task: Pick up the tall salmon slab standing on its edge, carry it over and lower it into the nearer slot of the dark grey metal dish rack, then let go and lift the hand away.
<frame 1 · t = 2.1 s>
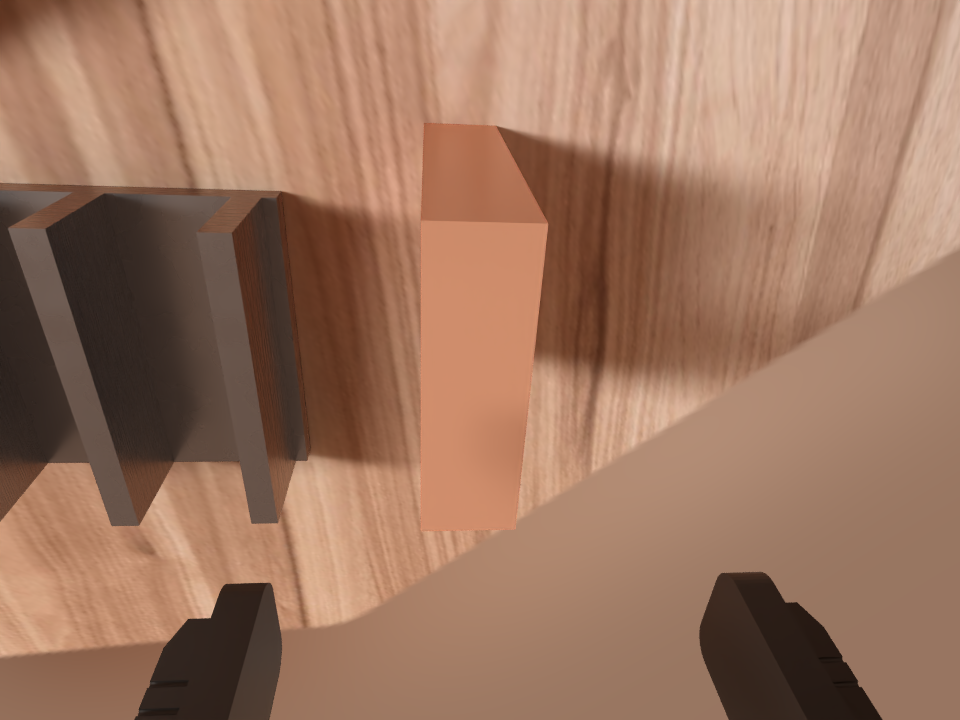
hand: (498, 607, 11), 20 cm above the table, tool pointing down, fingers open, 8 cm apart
tall salmon slab: (456, 239, 28), on the table
dish rack: (138, 333, 29), on the table
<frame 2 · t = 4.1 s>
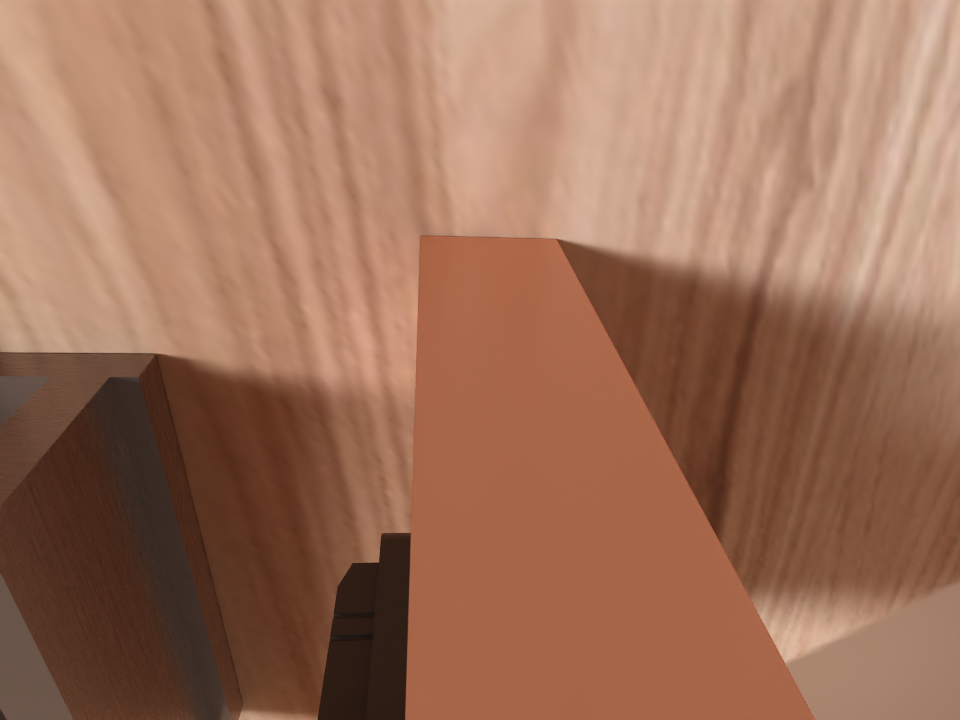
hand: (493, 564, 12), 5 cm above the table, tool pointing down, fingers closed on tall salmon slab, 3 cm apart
tall salmon slab: (477, 422, 16), on the table, touching gripper
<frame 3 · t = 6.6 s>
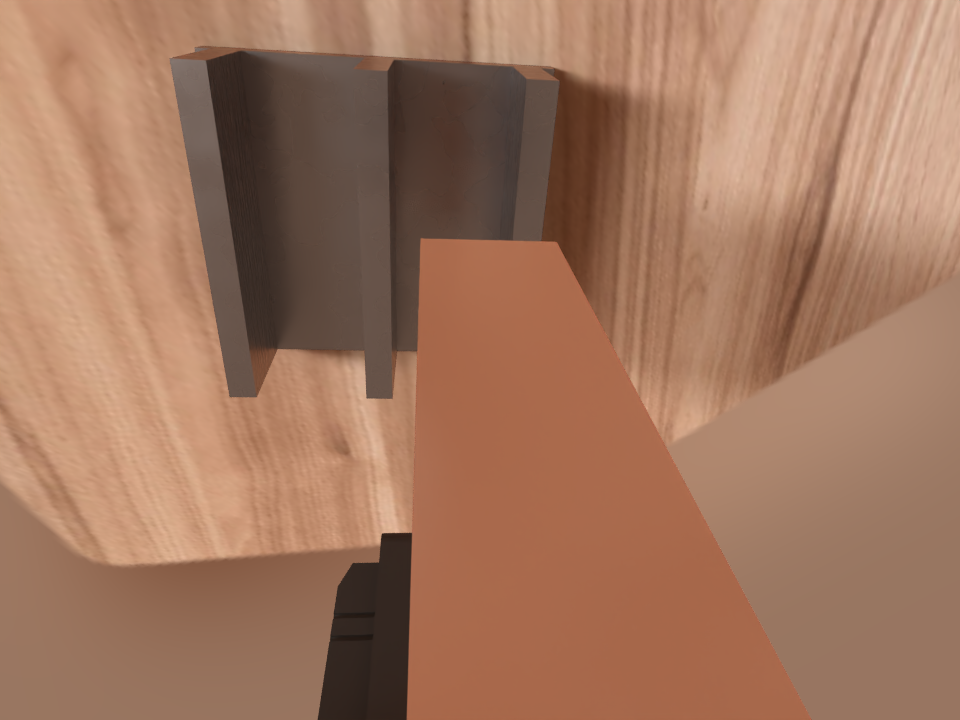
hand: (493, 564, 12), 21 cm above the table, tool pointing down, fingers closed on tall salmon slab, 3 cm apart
tall salmon slab: (478, 424, 16), point 17 cm above the table, touching gripper
dish rack: (384, 216, 30), on the table
when the fingers open (7 cm above the table, at t = 9.0 s): tall salmon slab drops 1 cm, resting on dish rack.
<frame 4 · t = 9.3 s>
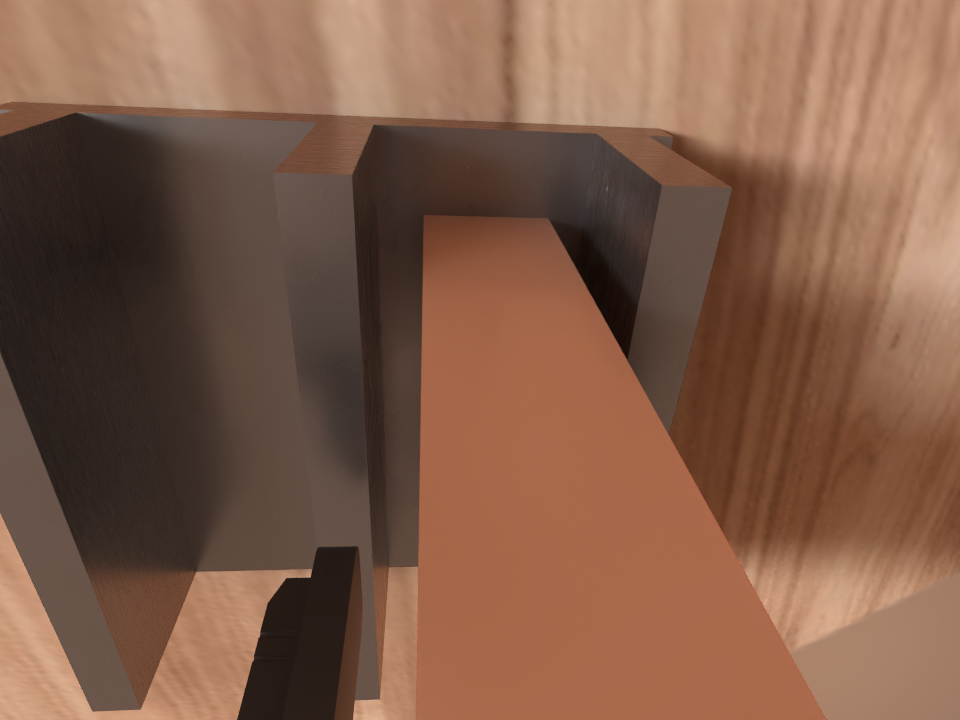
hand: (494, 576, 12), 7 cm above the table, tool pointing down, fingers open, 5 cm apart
tall salmon slab: (476, 391, 17), point 1 cm above the table, touching dish rack
dish rack: (364, 372, 18), on the table
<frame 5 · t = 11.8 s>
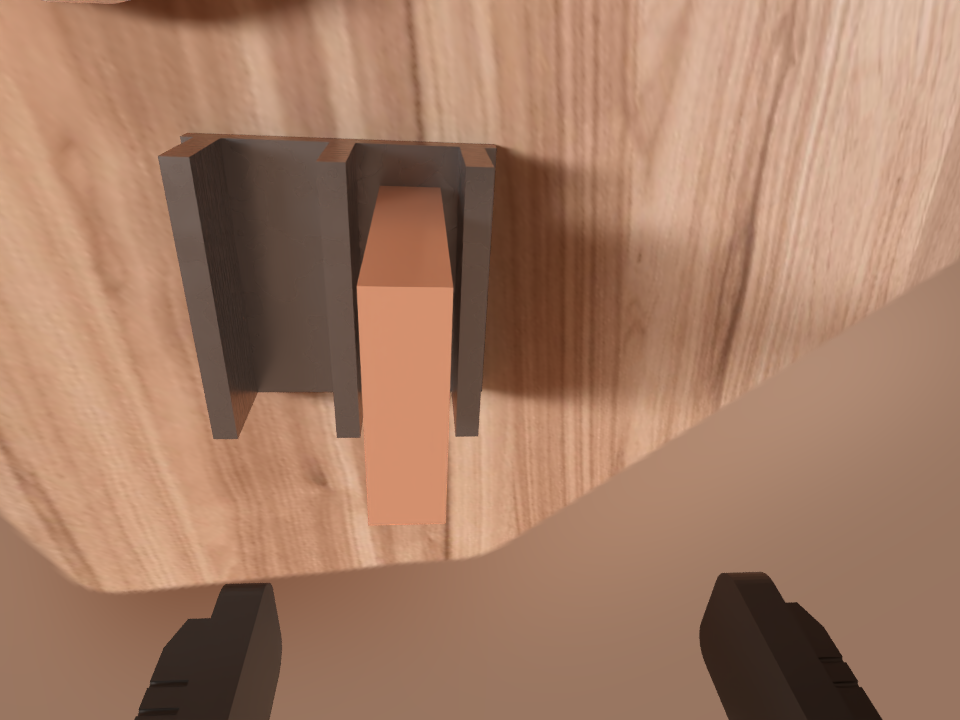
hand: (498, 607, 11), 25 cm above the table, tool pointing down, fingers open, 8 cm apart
tall salmon slab: (410, 280, 33), point 1 cm above the table, touching dish rack
dish rack: (351, 273, 33), on the table
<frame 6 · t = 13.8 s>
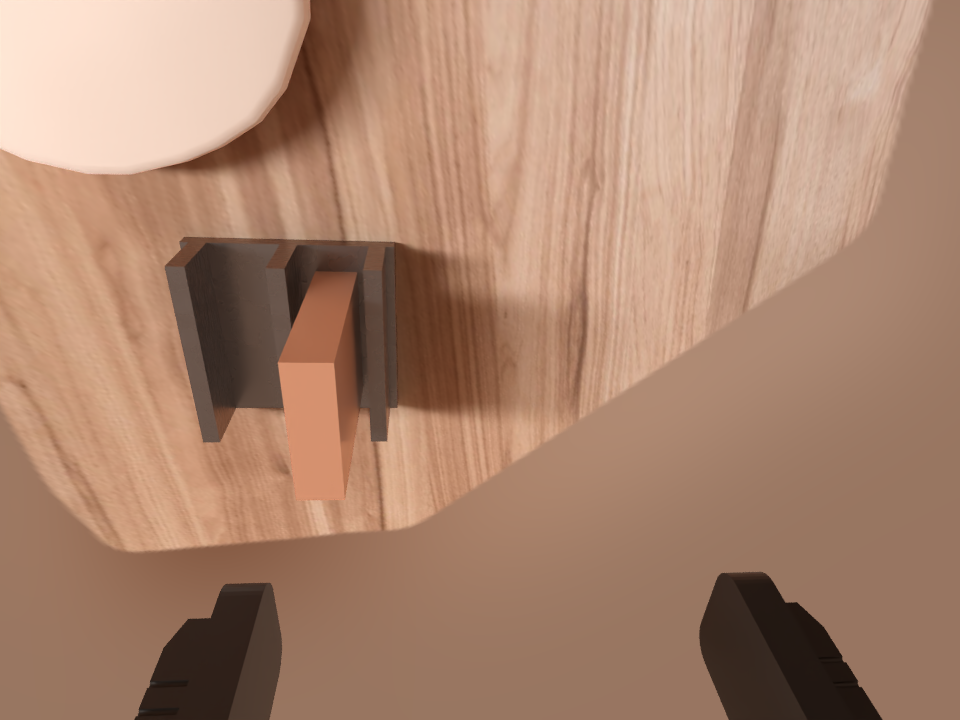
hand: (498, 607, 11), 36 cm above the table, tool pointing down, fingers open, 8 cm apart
tall salmon slab: (340, 332, 47), point 1 cm above the table, touching dish rack
dish rack: (300, 326, 48), on the table
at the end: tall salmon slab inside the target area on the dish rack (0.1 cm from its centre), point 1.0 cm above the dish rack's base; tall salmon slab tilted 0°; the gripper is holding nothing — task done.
